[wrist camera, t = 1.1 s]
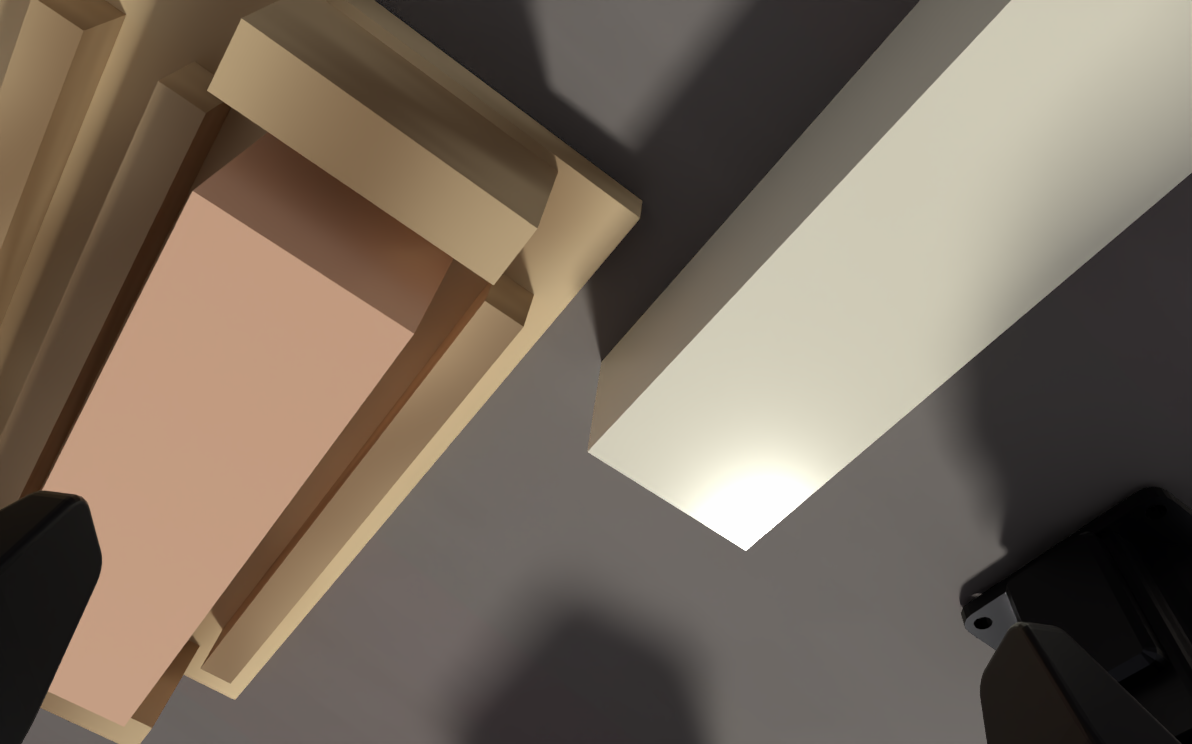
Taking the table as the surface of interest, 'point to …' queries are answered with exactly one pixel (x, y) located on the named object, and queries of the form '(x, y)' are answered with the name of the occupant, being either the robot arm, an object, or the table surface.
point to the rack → (196, 152)
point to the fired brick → (227, 400)
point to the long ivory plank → (896, 246)
